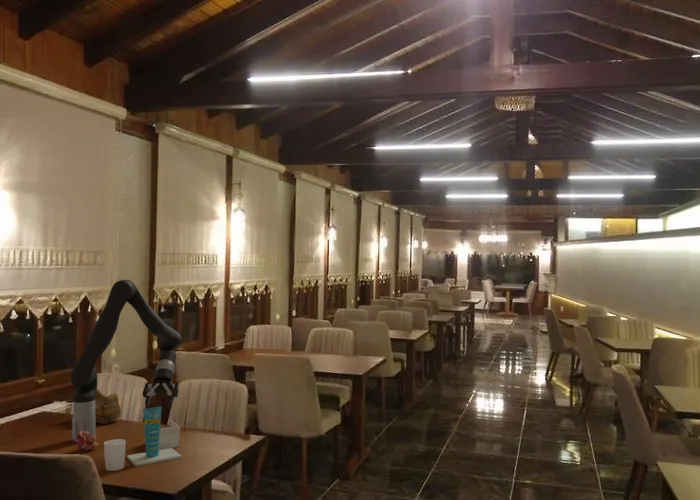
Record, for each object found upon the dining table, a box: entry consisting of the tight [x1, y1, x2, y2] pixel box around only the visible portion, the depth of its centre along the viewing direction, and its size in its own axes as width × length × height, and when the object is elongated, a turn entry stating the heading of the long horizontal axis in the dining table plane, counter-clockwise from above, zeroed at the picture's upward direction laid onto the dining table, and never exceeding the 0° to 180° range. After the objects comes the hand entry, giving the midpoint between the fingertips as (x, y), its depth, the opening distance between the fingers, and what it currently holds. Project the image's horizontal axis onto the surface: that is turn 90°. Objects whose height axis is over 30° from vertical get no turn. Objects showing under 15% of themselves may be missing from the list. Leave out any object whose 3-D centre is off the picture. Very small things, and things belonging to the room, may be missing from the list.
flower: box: [76, 431, 99, 452], centre depth 267 cm, size 10×9×8 cm
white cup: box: [103, 438, 127, 472], centre depth 242 cm, size 8×8×10 cm
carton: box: [144, 420, 181, 450], centre depth 272 cm, size 12×14×8 cm
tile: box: [126, 448, 182, 467], centre depth 254 cm, size 18×13×1 cm
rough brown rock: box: [95, 388, 122, 425], centre depth 314 cm, size 23×17×15 cm
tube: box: [142, 405, 163, 457], centre depth 255 cm, size 7×5×19 cm, turn 129°
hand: (157, 405), depth 262 cm, fingers open, 8 cm apart
